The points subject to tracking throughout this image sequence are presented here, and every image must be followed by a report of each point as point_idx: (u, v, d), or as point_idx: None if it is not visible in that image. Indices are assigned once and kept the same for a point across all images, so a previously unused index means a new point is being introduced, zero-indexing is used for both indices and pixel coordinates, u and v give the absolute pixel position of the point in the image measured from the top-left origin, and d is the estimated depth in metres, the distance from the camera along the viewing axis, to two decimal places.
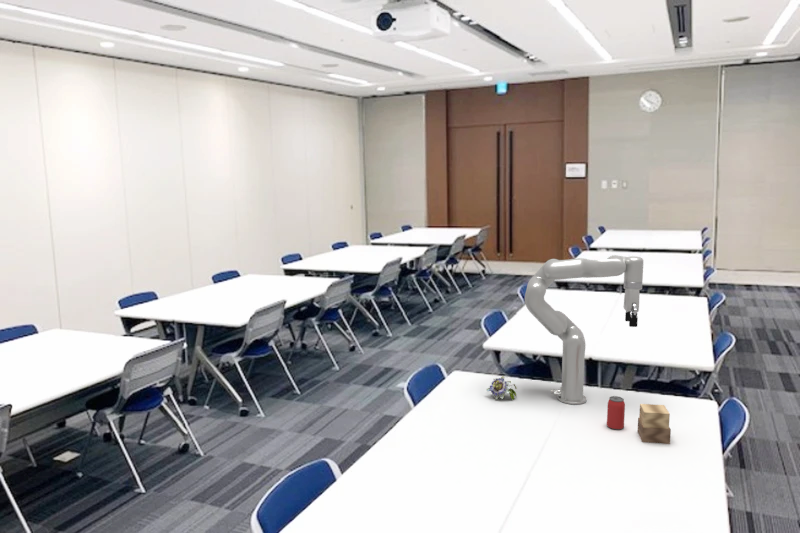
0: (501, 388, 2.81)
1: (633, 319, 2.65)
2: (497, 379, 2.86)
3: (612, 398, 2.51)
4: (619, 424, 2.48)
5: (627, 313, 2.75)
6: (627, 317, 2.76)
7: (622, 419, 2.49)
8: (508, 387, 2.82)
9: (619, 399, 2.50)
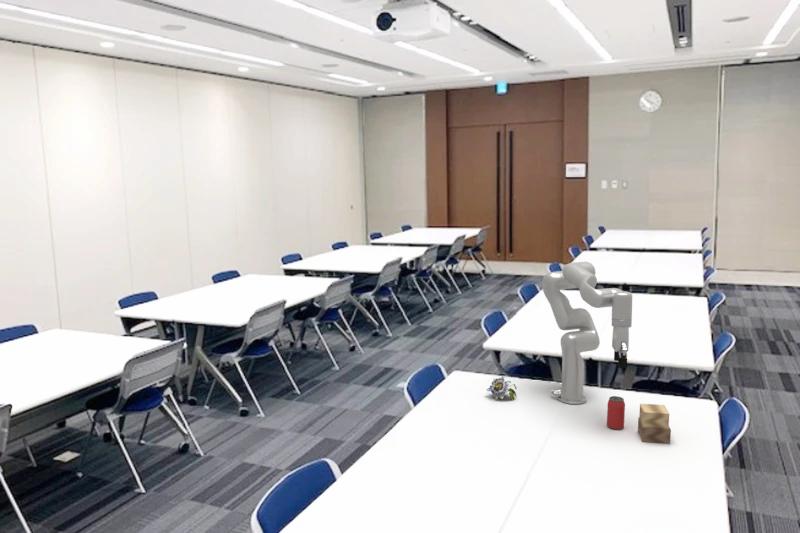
0: (501, 388, 2.81)
1: (622, 360, 2.44)
2: (497, 379, 2.86)
3: (612, 398, 2.51)
4: (619, 424, 2.48)
5: (616, 352, 2.54)
6: (616, 356, 2.54)
7: (622, 419, 2.49)
8: (508, 387, 2.82)
9: (619, 399, 2.50)
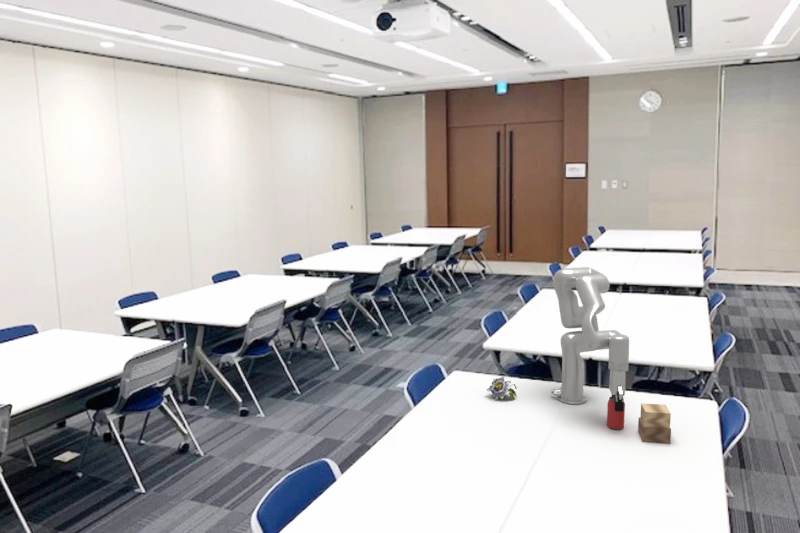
0: (501, 388, 2.81)
1: (618, 404, 2.44)
2: (497, 379, 2.86)
3: (612, 398, 2.51)
4: (619, 424, 2.48)
5: (613, 394, 2.54)
6: None
7: (622, 419, 2.49)
8: (508, 387, 2.82)
9: None
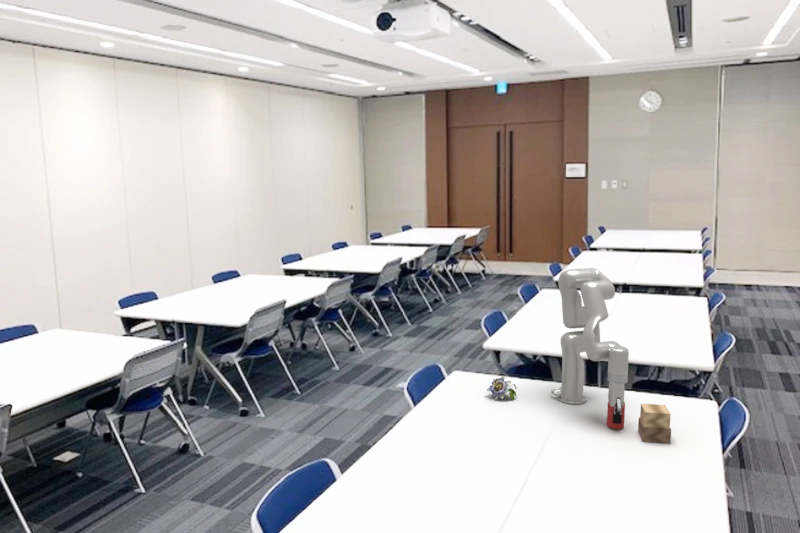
0: (501, 388, 2.81)
1: (616, 416, 2.47)
2: (497, 379, 2.86)
3: None
4: (619, 424, 2.48)
5: None
6: None
7: (622, 419, 2.49)
8: (508, 387, 2.82)
9: None
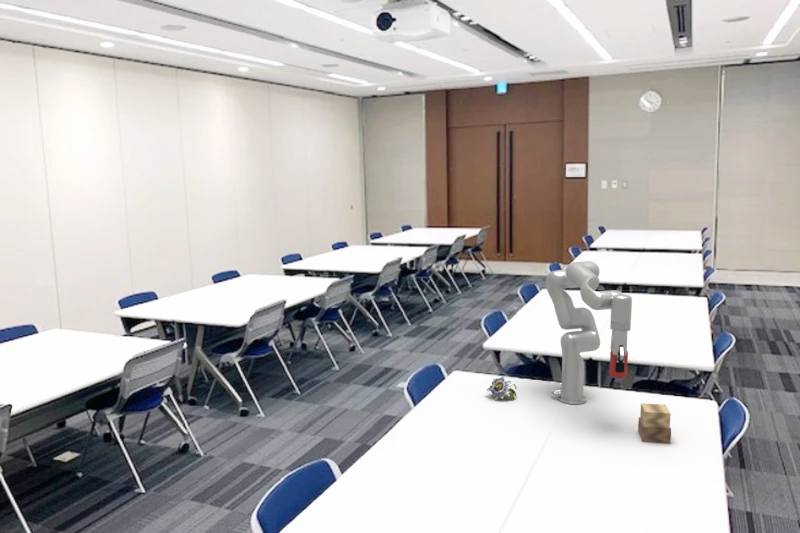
0: (501, 388, 2.81)
1: (619, 365, 2.43)
2: (497, 379, 2.86)
3: None
4: (622, 373, 2.45)
5: None
6: None
7: (625, 368, 2.45)
8: (508, 387, 2.82)
9: None
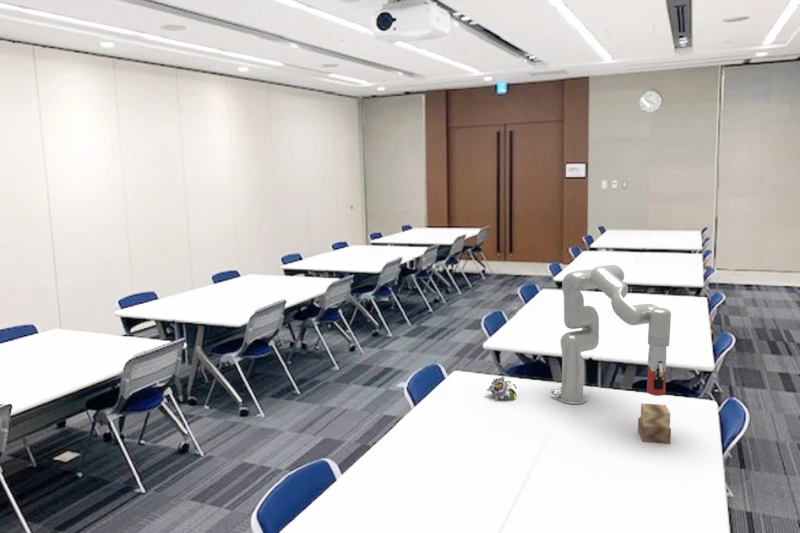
0: (501, 388, 2.81)
1: (658, 381, 2.34)
2: (497, 379, 2.86)
3: None
4: (660, 390, 2.35)
5: None
6: None
7: (664, 385, 2.36)
8: (508, 387, 2.82)
9: None
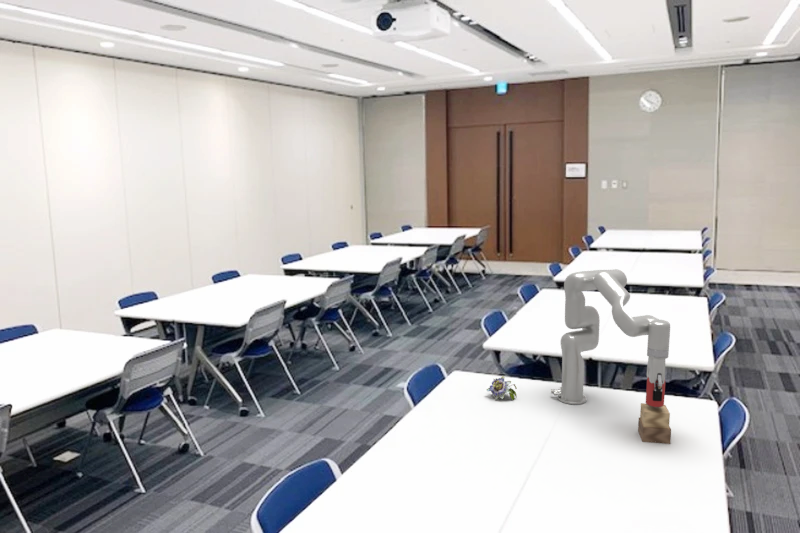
0: (501, 388, 2.81)
1: (657, 393, 2.35)
2: (497, 379, 2.86)
3: None
4: (659, 401, 2.36)
5: None
6: None
7: (662, 396, 2.37)
8: (508, 387, 2.82)
9: None
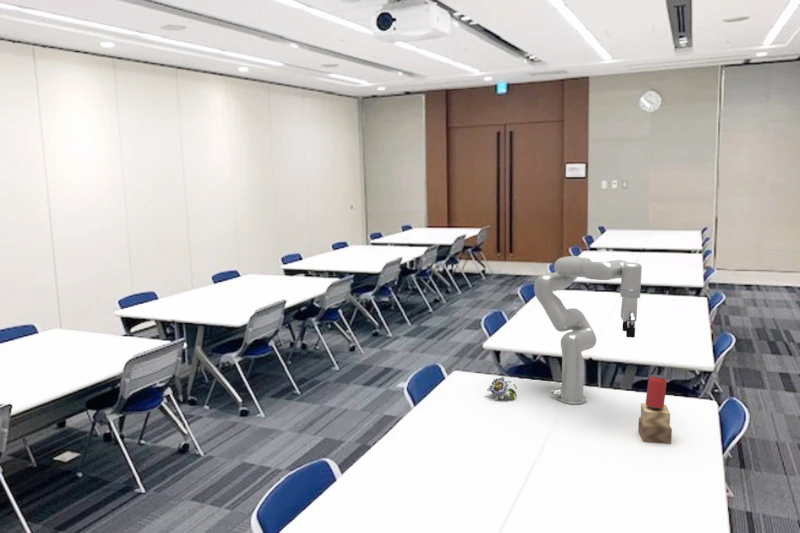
0: (501, 388, 2.81)
1: (630, 330, 2.49)
2: (497, 379, 2.86)
3: (654, 375, 2.41)
4: (657, 402, 2.37)
5: (624, 322, 2.59)
6: (624, 327, 2.59)
7: (661, 398, 2.37)
8: (508, 387, 2.82)
9: (661, 377, 2.40)
